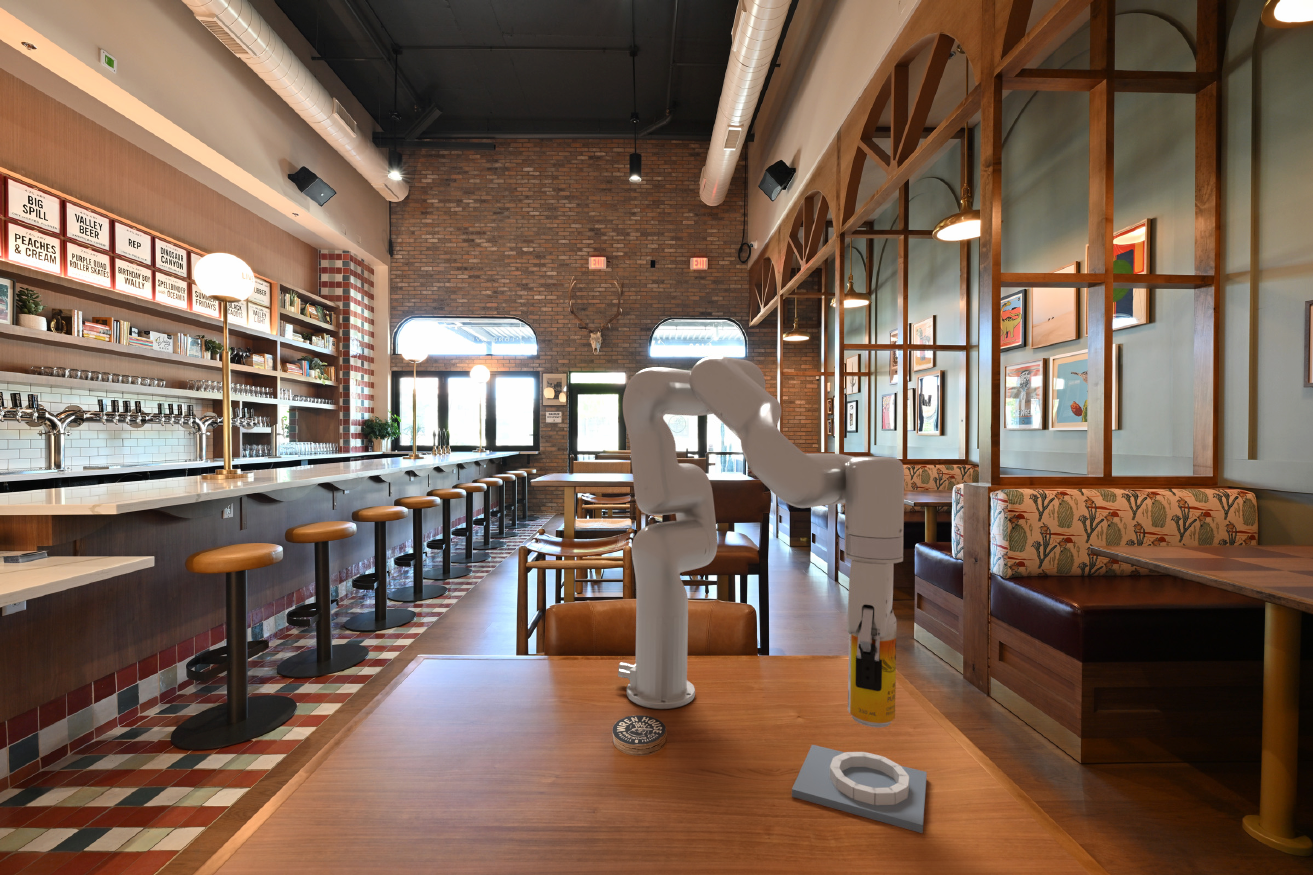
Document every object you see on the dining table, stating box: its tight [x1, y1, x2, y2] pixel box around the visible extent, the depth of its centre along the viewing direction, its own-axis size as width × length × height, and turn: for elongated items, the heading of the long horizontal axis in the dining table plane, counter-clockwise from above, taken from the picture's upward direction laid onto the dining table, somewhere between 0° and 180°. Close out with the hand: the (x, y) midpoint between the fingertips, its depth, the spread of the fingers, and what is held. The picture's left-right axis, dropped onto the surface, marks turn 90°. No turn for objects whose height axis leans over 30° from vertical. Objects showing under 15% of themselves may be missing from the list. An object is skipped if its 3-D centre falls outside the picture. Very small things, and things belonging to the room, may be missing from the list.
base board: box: [791, 744, 928, 834], centre depth 83 cm, size 16×13×2 cm
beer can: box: [847, 609, 897, 729], centre depth 82 cm, size 6×6×15 cm
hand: (871, 677), depth 82 cm, fingers closed on beer can, 6 cm apart
